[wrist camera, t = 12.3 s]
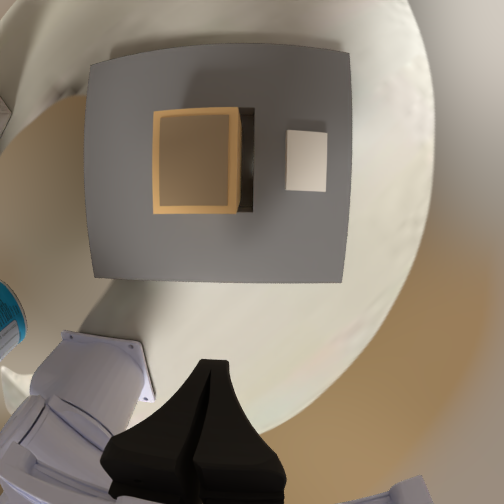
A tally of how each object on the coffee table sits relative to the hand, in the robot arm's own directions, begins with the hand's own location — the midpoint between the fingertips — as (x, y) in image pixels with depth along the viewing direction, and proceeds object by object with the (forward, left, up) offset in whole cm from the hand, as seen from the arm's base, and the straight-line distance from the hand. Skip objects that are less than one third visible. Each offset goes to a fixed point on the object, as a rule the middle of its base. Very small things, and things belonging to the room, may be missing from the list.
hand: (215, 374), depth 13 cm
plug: (-1, +10, -10) cm, 14 cm away
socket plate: (-1, +10, -9) cm, 14 cm away
